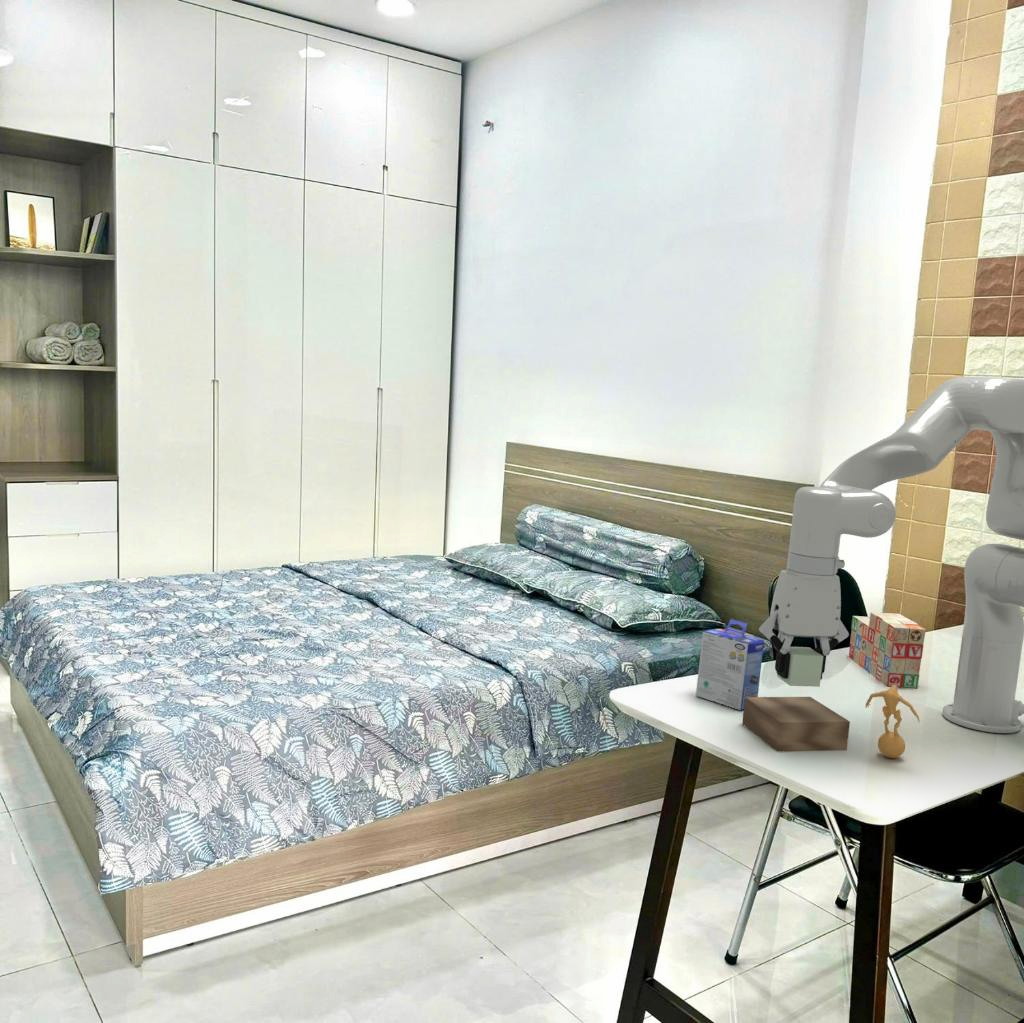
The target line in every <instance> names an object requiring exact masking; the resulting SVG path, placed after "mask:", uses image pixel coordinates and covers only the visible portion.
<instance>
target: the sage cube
mask: <svg viewBox="0 0 1024 1023" xmlns="http://www.w3.org/2000/svg"><path fill="white" fill-rule="evenodd" d="M788 654H790V665H789V673H788V678H787V679H784V678H782V677H781V676H779V675H778V674H777V673H776V674H777V675H776V677H777V678H779V679H780V680H781V681H783V682H784V683H786V684H787V685H788V686H790V687H791V686H792V687H815V688H818V687H820V686H821V681H822V679H821V671H822V663H823V656H822V655H821V654H819V653H818V652H816V651H815V649H812V648H811V647H807V646H805V647H804V646H790V648H789V650H788Z"/></svg>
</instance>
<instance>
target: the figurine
mask: <svg viewBox="0 0 1024 1023" xmlns="http://www.w3.org/2000/svg"><path fill="white" fill-rule="evenodd" d="M879 697H881V698H882V699H883V700H884V703H885V705H884V706H882V712H883V716H884V717H885V720H884V721H883V724H884V730H885V732H884V733H882V734H881V735H880V736H879V738H878V741H877V748H878V751H879V752H880V753H881V754H882V755H883V756H884V757H886V758H887V759H896V758H899V757H901V756H902V755H903V754H904V752H905V749H906V742H905V740H904V738H903V737H902V736H901V735H900V733H898V729H899V727H900V724H901V722H902V721H903V718H902V716H901V710H900V709H897V706H898V704H899V703H902V704H903V705H905V706H907V707H908V708H909V709H910V711H911V713H912V714H913V715H914V716H915V717H916V719H917V721H918V723H920V721H921V720H920V717H919V715H918V713H917V711H916V710H915V709H914V707H913V705H912V704H911V703H910V702H909V701H908V700H906V699H904V698H903V697H902V696H901V695H900V694H899V691H898V688H897V686H896V685H892V686H891V687H888V688H887V690H885V691H884V690H883V691H880V692H875V693H871V694H870V695H869V698H868V699H867V700H866V703H865V709H867V708H869V706H871V704H870V703H871V702H872V700H873V698H879ZM892 715H893V718H894V719H895V720H896V721H897V722H895V723H894V725H893V731H890V730H889V727H888V725H889V723H890V722H889V721H890V717H891V716H892Z"/></svg>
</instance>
